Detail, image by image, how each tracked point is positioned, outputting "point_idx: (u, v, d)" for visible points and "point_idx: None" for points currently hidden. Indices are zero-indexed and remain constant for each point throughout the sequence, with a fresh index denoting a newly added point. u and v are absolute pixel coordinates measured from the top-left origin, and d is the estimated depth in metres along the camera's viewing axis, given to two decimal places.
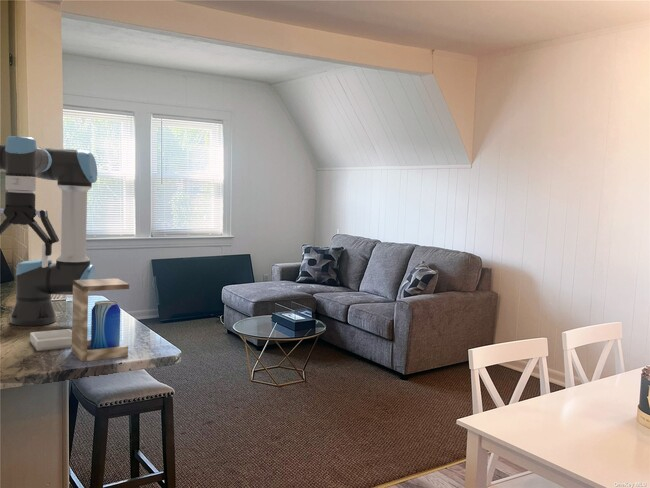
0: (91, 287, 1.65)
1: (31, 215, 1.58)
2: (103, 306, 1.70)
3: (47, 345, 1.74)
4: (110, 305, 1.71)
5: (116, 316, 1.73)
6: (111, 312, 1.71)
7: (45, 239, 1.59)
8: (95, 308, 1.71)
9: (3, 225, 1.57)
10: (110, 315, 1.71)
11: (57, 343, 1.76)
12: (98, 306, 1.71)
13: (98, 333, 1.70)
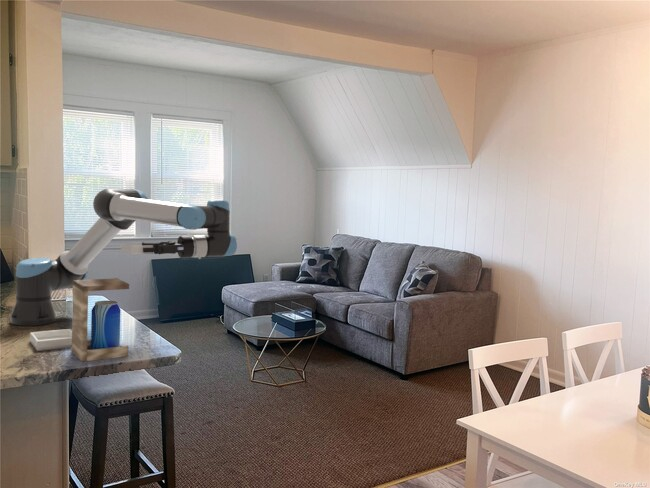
0: (91, 287, 1.65)
1: None
2: (103, 306, 1.70)
3: (47, 345, 1.74)
4: (110, 305, 1.71)
5: (116, 316, 1.73)
6: (111, 312, 1.71)
7: None
8: (95, 308, 1.71)
9: None
10: (110, 315, 1.71)
11: (57, 343, 1.76)
12: (98, 306, 1.71)
13: (98, 333, 1.70)
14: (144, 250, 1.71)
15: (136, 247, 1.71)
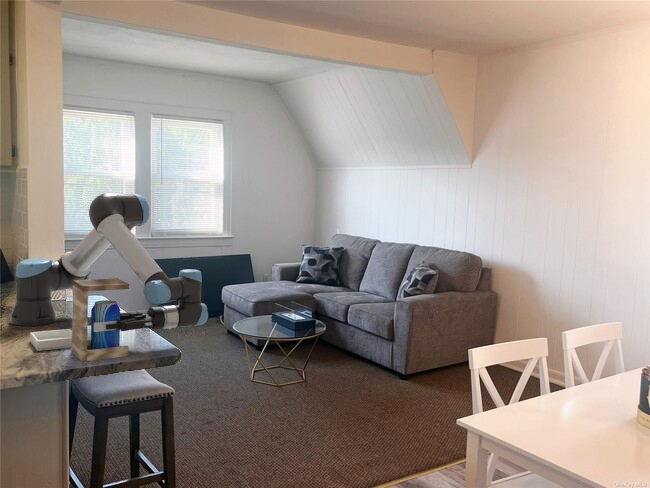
0: (91, 287, 1.65)
1: None
2: (103, 306, 1.71)
3: (47, 345, 1.74)
4: (110, 305, 1.71)
5: (116, 316, 1.73)
6: (111, 311, 1.71)
7: None
8: (95, 308, 1.71)
9: None
10: (109, 315, 1.71)
11: (57, 343, 1.76)
12: (98, 306, 1.71)
13: (98, 333, 1.70)
14: (107, 327, 1.69)
15: (99, 324, 1.68)
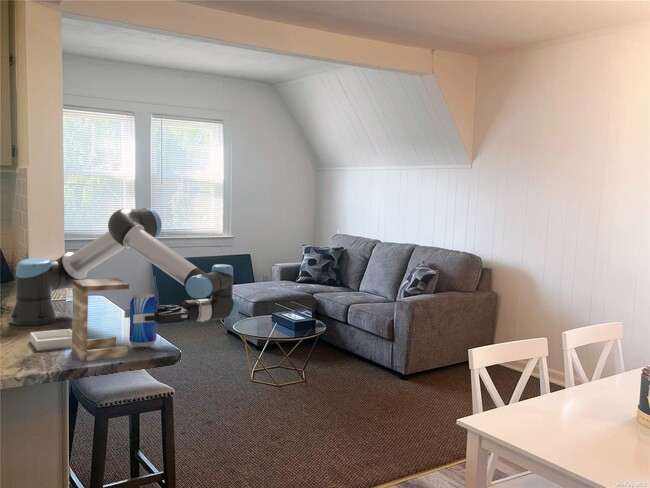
0: (91, 287, 1.65)
1: None
2: (141, 298, 1.78)
3: (47, 345, 1.74)
4: (148, 297, 1.79)
5: (154, 308, 1.80)
6: (149, 304, 1.78)
7: None
8: (134, 300, 1.78)
9: None
10: (148, 307, 1.78)
11: (57, 343, 1.76)
12: (137, 298, 1.78)
13: (137, 325, 1.77)
14: (146, 319, 1.76)
15: (138, 316, 1.76)
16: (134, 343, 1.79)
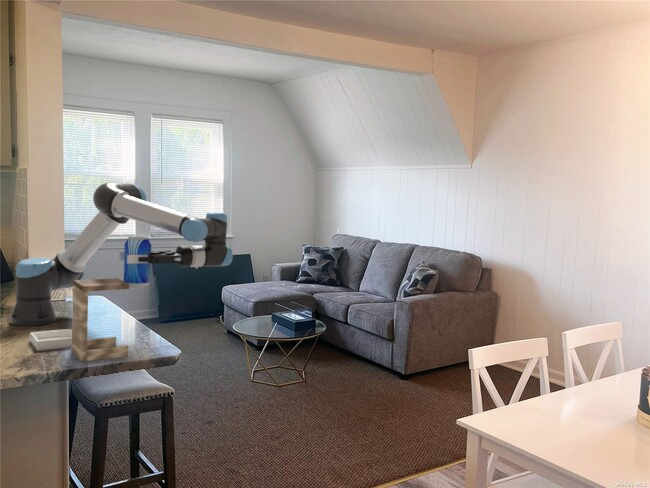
0: (91, 287, 1.65)
1: None
2: (135, 240, 1.80)
3: (47, 345, 1.74)
4: (142, 239, 1.81)
5: (148, 250, 1.82)
6: (143, 245, 1.81)
7: None
8: (128, 242, 1.81)
9: None
10: (142, 249, 1.80)
11: (57, 343, 1.76)
12: (131, 240, 1.80)
13: (131, 265, 1.80)
14: (139, 259, 1.79)
15: (132, 256, 1.78)
16: None
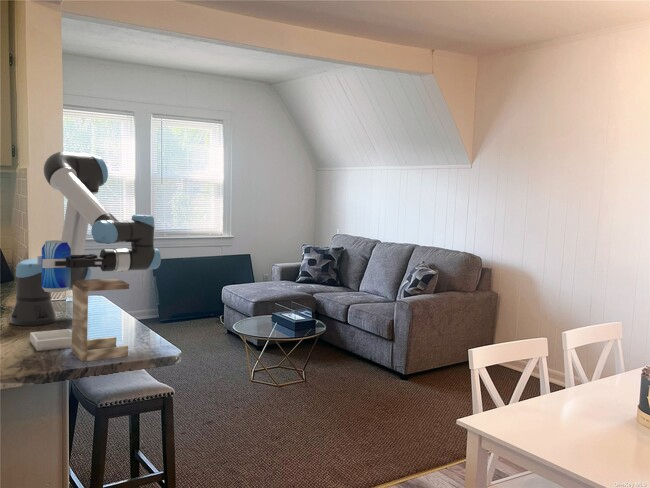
0: (91, 287, 1.65)
1: None
2: (52, 243, 1.75)
3: (47, 345, 1.74)
4: (59, 243, 1.76)
5: (66, 254, 1.77)
6: (60, 249, 1.75)
7: None
8: (45, 246, 1.76)
9: None
10: (59, 252, 1.75)
11: (57, 343, 1.76)
12: (47, 243, 1.75)
13: (48, 270, 1.75)
14: (56, 264, 1.74)
15: (48, 260, 1.73)
16: (45, 289, 1.76)
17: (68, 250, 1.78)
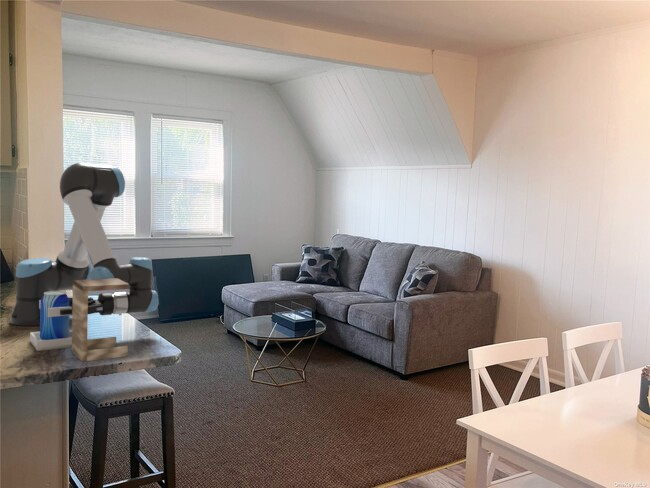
0: (91, 287, 1.65)
1: None
2: (51, 296, 1.77)
3: (47, 345, 1.74)
4: (58, 295, 1.78)
5: (64, 306, 1.79)
6: (59, 301, 1.77)
7: None
8: (43, 298, 1.77)
9: None
10: (57, 305, 1.77)
11: (57, 343, 1.76)
12: (46, 296, 1.77)
13: (46, 322, 1.77)
14: (61, 312, 1.74)
15: (53, 309, 1.73)
16: None
17: (66, 302, 1.80)
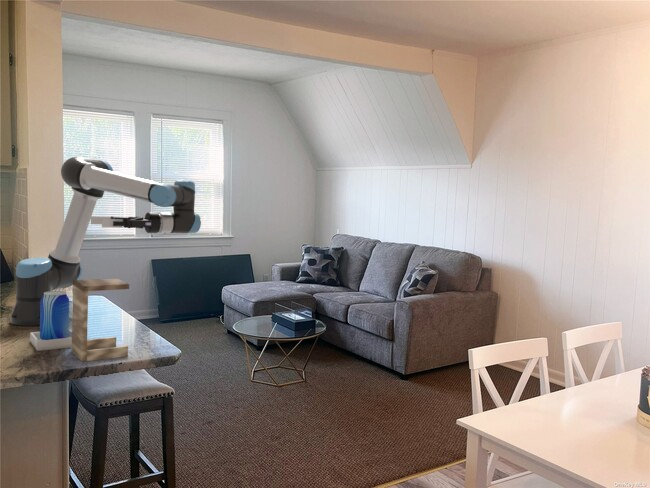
0: (91, 287, 1.65)
1: None
2: (51, 296, 1.77)
3: (47, 345, 1.74)
4: (58, 295, 1.78)
5: (64, 306, 1.79)
6: (58, 301, 1.77)
7: None
8: (43, 298, 1.77)
9: None
10: (57, 305, 1.77)
11: (57, 343, 1.76)
12: (46, 296, 1.77)
13: (46, 322, 1.77)
14: (114, 223, 1.83)
15: (107, 220, 1.83)
16: None
17: (66, 302, 1.80)
